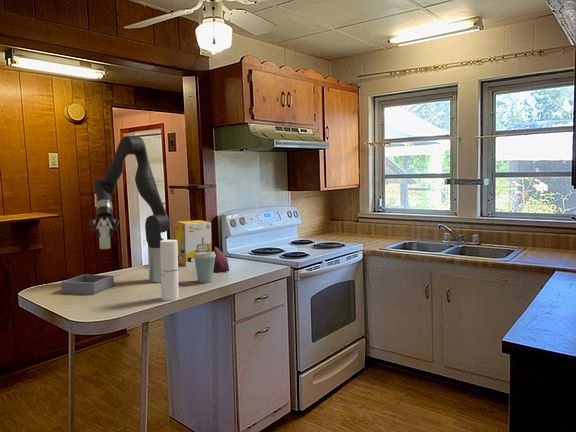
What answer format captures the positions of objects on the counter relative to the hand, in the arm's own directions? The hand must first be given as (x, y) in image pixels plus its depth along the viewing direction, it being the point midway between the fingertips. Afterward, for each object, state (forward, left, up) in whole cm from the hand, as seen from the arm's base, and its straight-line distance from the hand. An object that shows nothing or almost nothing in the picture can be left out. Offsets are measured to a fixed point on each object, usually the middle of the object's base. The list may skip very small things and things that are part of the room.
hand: (104, 236), depth 221 cm
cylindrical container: (-44, +23, -23) cm, 55 cm away
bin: (0, +15, -23) cm, 27 cm away
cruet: (+1, -2, -6) cm, 6 cm away
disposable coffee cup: (-48, -9, -23) cm, 54 cm away
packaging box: (-24, -54, -23) cm, 64 cm away
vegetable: (-47, -35, -23) cm, 63 cm away
